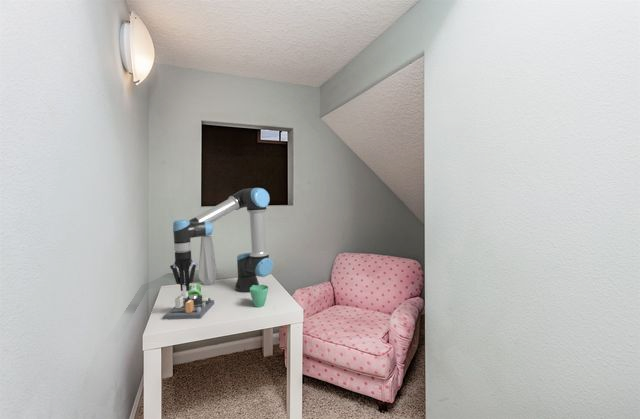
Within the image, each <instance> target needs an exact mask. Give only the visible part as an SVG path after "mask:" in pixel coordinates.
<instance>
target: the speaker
mask: <svg viewBox="0 0 640 419" xmlns="http://www.w3.org/2000/svg"><path fill="white" fill-rule="evenodd" d="M189 288H190V289H189V291H188V297H189V295H191V294H198V295H202V293H201V292H202V287H201V285H200V284H199V283H191V284H189Z"/></svg>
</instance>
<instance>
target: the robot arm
mask: <svg viewBox="0 0 640 419" xmlns="http://www.w3.org/2000/svg"><path fill="white" fill-rule="evenodd" d="M269 204H270V194H269V192H268V191H267V190H266V189H264V188H261V187H254V188H253V187H250V188H249V187H248V188H242V189H241V190H239V191H237V192H236V193H234V194H231V195H230V196H228V198H227V199H226V200H224V201H222V202H221V203H218V204H217V205H215V206H214V207H211V208H209V209H208V210H206V211H204V212H202V213H201V214H198V215H196V216H194V217H193V218H190V219H177V220H174V221H173V222H172V223H173V224H172V232H173V244H174V246H173V247H174V262H173V264H171V265H170V266H169V268H170V269H171V271H172V273H173V277H174V280H175V283H176V285H180V291H181V292H182V296H183V299H186V298H187V297H188V291H189V289H190V288H189V286H190V285H191V284H193V282H194V278H195V273H196V272H195V271H196V268H197V266H198V263H195V262H193V260H192V250H191V249H192V246H191V239H193V238H201V237H202V236H212V235H213V233H214V226H213V224H212V223H214V222H216V221H217V220H219V219H221V218H223V217H225V216H227V215H228V214H230V213H232V212H234V211H239V210H240V209H243V208H246V211H247V212H248V213H249V223H250V226H249V227H250V242H251V252H245V253H240V254H238V255H237V256H236V263H237V264H236V266H237V280H236V282H235V286H234V287H235V288H234V289H235V291H237V292H239V293H240V292H241V293H247V292H248V293H250V287H252V285H260V283H259V281H258V277H259V278H264V277H267V276H269V275H270V274H271V272H272V271H273V268H274V262H273V260H272V259H271V258H270V254H269V252H268V251H267V242H266V227H265V226H266V225H265V222H266V221H265V212H267V206H268V205H269ZM190 267H191V269H190Z"/></svg>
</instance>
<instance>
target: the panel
mask: <svg viewBox="0 0 640 419" xmlns="http://www.w3.org/2000/svg"><path fill="white" fill-rule="evenodd" d="M188 300H193V303H194V310H193V311H192V312H191V313H186V305H185V303H186V302H187V301H188ZM214 305H215V299H211V298H210V297H203V295H202V294H201V295H198V298H197V299H189V297H187V298H184V300H183V306H182V307H181V308H175V306H174V307H172V308H171V309H170V310H169V311H168V312H166V313H165V314H164V315H163V320H164V319H168V320H195V319H197V320H199V319H202V318H203V316H204V315H205V314H206V313H207V312H208V311H210V309H211V308H212V307H213V306H214Z"/></svg>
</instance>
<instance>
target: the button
mask: <svg viewBox="0 0 640 419" xmlns="http://www.w3.org/2000/svg"><path fill="white" fill-rule="evenodd" d="M197 298H198V294H191V295H189V299H197Z"/></svg>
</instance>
